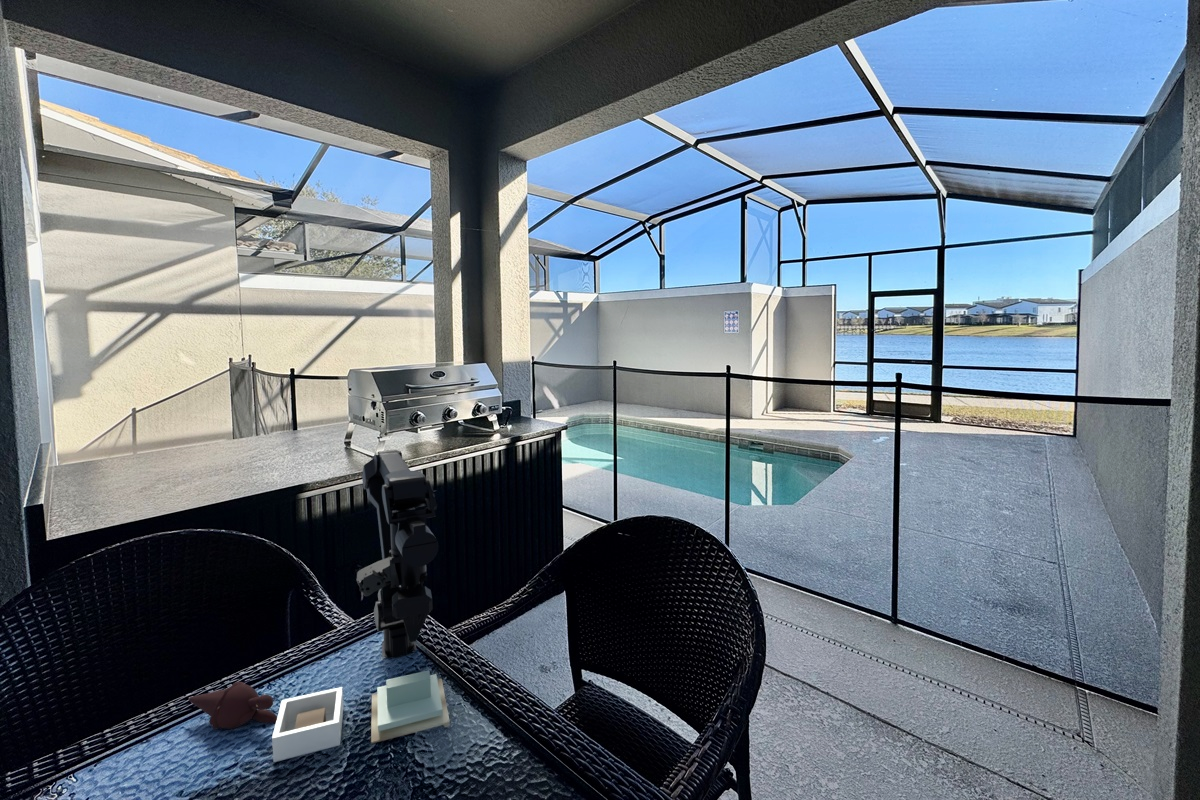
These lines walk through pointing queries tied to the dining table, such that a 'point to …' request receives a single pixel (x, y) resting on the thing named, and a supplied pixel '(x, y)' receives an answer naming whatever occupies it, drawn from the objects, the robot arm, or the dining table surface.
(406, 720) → the lid
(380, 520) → the robot arm
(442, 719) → the board
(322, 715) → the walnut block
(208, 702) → the brown gnome figurine
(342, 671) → the dining table surface
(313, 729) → the box
